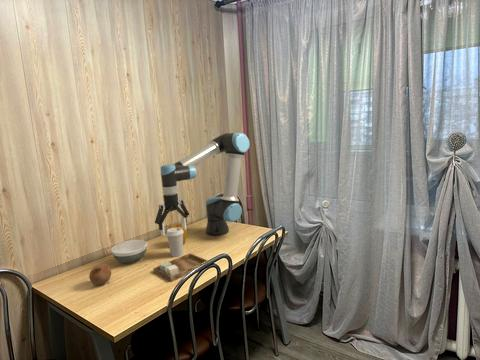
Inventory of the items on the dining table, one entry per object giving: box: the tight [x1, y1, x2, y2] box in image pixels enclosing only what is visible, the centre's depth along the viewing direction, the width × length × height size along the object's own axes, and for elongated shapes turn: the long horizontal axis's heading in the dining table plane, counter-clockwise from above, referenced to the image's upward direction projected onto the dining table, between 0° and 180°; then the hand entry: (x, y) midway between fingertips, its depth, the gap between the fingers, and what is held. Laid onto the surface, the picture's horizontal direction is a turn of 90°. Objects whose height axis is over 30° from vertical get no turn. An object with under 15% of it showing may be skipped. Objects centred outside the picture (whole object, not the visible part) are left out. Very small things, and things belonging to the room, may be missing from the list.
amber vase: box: [168, 223, 188, 245], centre depth 187 cm, size 11×11×13 cm
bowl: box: [110, 239, 148, 265], centre depth 169 cm, size 19×19×8 cm
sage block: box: [159, 261, 172, 274], centre depth 152 cm, size 4×4×4 cm
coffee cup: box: [165, 227, 184, 258], centre depth 170 cm, size 10×10×15 cm
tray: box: [152, 252, 209, 283], centre depth 155 cm, size 22×16×2 cm
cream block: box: [167, 265, 179, 276], centre depth 148 cm, size 4×4×4 cm
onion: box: [88, 264, 112, 286], centre depth 145 cm, size 10×9×10 cm
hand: (174, 232), depth 169 cm, fingers open, 13 cm apart
